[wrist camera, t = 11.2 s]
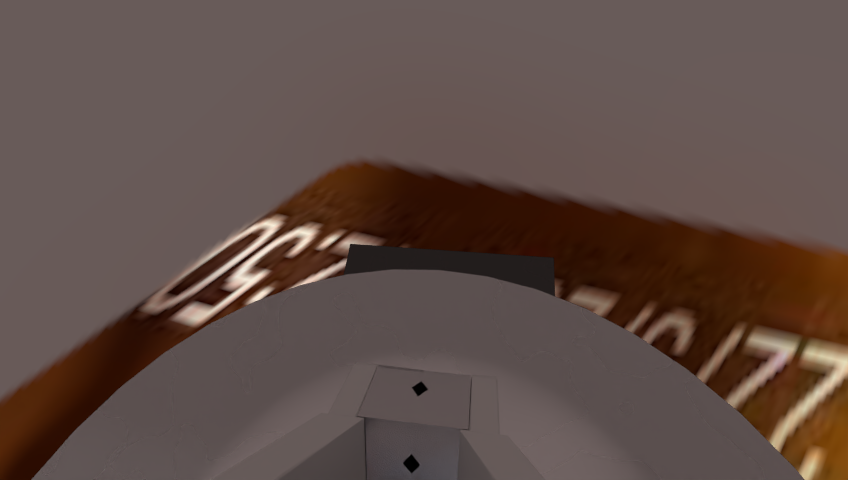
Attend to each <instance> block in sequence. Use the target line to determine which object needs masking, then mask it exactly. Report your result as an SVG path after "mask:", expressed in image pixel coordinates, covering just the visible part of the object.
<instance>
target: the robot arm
mask: <svg viewBox="0 0 848 480" xmlns="http://www.w3.org/2000/svg"><path fill="white" fill-rule="evenodd" d="M211 480H545V479H544V478H543V476H542V475H541V474H540V473H539V472H538V471H537V469H536V468H535V467H534V466H533V465H532V463H531V462H530V461H529V460H528V459H527V458H526V456H525V455H524V454H523V453H522V452H521V450H520V449H519V448H518V447H517V446H516V445H515V443H514V442H513V441H512V440H511V439H510V438H509V436H507V435H500V423H499V402H498V381H497V378H496V376H485V375H472V378H471V375H464V374H453V373H443V372H432V371H425V370H419V369H411V368H403V367H395V366H387V365H378V364H370V363H360V362H357V363H355V364H354V365H353V366H352V368H351V370H350V372H349V374H348V376H347V378H346V379H345V381H344V383H343V385H342V387H341V389H340V391H339V393H338V395H337V397H336V399H335V401H334V403H333V405H332V407H331V409H330V411H329V413H328V414H327V413H320V414H318V415H317V416H315V417H314V418H312V419H310V420H309V421H307V422H305V423H304V424H302V425H300V426H299V427H297V428H295V429H294V430H292V431H290V432H289V433H287V434H285V435H284V436H282V437H281V438H279V439H277V440H276V441H274V442H272V443H271V444H269V445H267V446H266V447H264V448H262V449H261V450H259V451H257V452H256V453H254V454H253V455H251V456H249V457H248V458H246V459H244V460H243V461H241V462H239V463H238V464H236V465H234V466H233V467H231V468H229V469H228V470H226V471H224V472H223V473H221V474H220V475H218V476H216V477H215V478H213V479H211Z"/></svg>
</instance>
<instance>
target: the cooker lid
mask: <svg viewBox="0 0 848 480" xmlns="http://www.w3.org/2000/svg"><path fill="white" fill-rule="evenodd" d="M357 362H360V363H370V364H378V365H387V366H395V367H403V368H411V369H419V370H425V371H432V372H443V373H453V374H464V375H471V378H472V375H485V376H496V378H497V381H498V402H499V423H500V435H507V436H509V438H510V439H511V440H512V441H513V442H514V443H515V445H516V446H517V447H518V448H519V449H520V450H521V452H522V453H523V454H524V455H525V456H526V458H527V459H528V460H529V461H530V462H531V463H532V465H533V466H534V467H535V468H536V469H537V471H538V472H539V473H540V474H541V475H542V476H543V478H544V479H545V480H804V479H803V477H802V476H801V475H800V474H799V473H798V471H797V470H796V469H795V468H794V467H793V466H792V465H791V464H790V463H789V462H788V461H787V460H786V459H785V458H784V457H783V456H782V455H781V454H780V453H779V452H778V451H777V450H776V449H775V448H774V447H773V446H772V445H771V444H770V443H769V442H768V441H767V440H766V439H765V438H764V437H763V436H762V435H761V434H760V433H759V432H758V431H757V430H756V429H755V428H754V427H753V426H752V425H751V424H750V423H749V422H748V421H747V420H746V419H745V418H744V417H743V416H742V415H741V414H740V413H739V412H738V411H737V410H736V409H734V408H733V407H732V406H731V405H730V404H728V403H727V402H726V401H725V400H723V399H722V398H721V397H720V396H719V395H717V394H716V393H715V392H714V391H713V390H711V389H710V388H709V387H708V386H707V385H705V384H704V383H703V382H702V381H701V380H699V379H698V378H697V377H696V376H695V375H693V374H692V373H691V372H690V371H689V370H687V369H686V368H684V367H683V366H681V365H680V364H678V363H677V362H675V361H674V360H672V359H671V358H669V357H668V356H666V355H665V354H663V353H662V352H660V351H659V350H657V349H656V348H655V347H653V346H652V345H650V344H649V343H647V342H646V341H644V340H643V339H641V338H640V337H638V336H637V335H635V334H633V333H631V332H629V331H627V330H625V329H624V328H622V327H620V326H618V325H616V324H614V323H612V322H610V321H608V320H606V319H605V318H603V317H601V316H599V315H597V314H595V313H593V312H591V311H589V310H587V309H586V308H583V307H580V306H578V305H575V304H573V303H570V302H568V301H565V300H563V299H560V298H557V297H555V296H552V295H550V294H547V293H545V292H542V291H539V290H537V289H534V288H530V287H526V286H522V285H518V284H514V283H511V282H507V281H503V280H499V279H495V278H491V277H488V276H480V275H473V274H466V273H458V272H451V271H443V270H399V269H392V270H383V271H374V272H365V273H356V274H347V275H342V276H338V277H334V278H329V279H325V280H321V281H317V282H312V283H308V284H304V285H300V286H297V287H294V288H292V289H289V290H286V291H283V292H281V293H278V294H275V295H272V296H269V297H267V298H264V299H261V300H258V301H256V302H253V303H251V304H249V305H247V306H245V307H243V308H241V309H239V310H237V311H235V312H233V313H231V314H229V315H227V316H225V317H223V318H221V319H219V320H217V321H215V322H213V323H211V324H209V325H207V326H206V327H204V328H203V329H201V330H200V331H198V332H196V333H195V334H193V335H192V336H190V337H189V338H187V339H185V340H184V341H182V342H181V343H179V344H177V345H176V346H174V347H173V348H171V349H170V350H168V351H166V352H165V353H164V354H162V355H161V356H160V357H158V358H157V359H156V360H155V361H153V362H152V363H151V364H150V365H148V366H147V367H146V368H144V369H143V370H142V371H141V372H139V373H138V374H137V375H135V376H134V377H133V378H132V379H130V380H129V381H128V382H127V383H125V384H124V385H123V386H121V387H120V388H119V389H118V390H117V391H116V392H115V393H114V394H113V395H112V396H111V397H110V398H109V399H107V400H106V401H105V402H104V403H103V404H102V405H101V406H100V407H99V408H98V409H97V410H96V411H95V412H94V413H93V414H92V415H91V416H90V417H88V418H87V419H86V420H85V421H84V422H83V423H82V424H81V425H80V426H79V427H78V428H77V429H76V430H75V431H74V432H73V433H72V434H71V435H70V437H69V438H68V439H67V440H66V441H65V442H64V443H63V444H62V446H61V447H60V448H59V449H58V450H57V451H56V452H55V454H54V455H53V456H52V457H51V458H50V459H49V460H48V461H47V463H46V464H45V465H44V466H43V467H42V468H41V469H40V471H39V472H38V473H37V474H36V475H35V476H34V477H33V478H32V480H211V479H213V478H215V477H216V476H218V475H220V474H221V473H223V472H224V471H226V470H228V469H229V468H231V467H233V466H234V465H236V464H238V463H239V462H241V461H243V460H244V459H246V458H248V457H249V456H251V455H253V454H254V453H256V452H257V451H259V450H261V449H262V448H264V447H266V446H267V445H269V444H271V443H272V442H274V441H276V440H277V439H279V438H281V437H282V436H284V435H285V434H287V433H289V432H290V431H292V430H294V429H295V428H297V427H299V426H300V425H302V424H304V423H305V422H307V421H309V420H310V419H312V418H314V417H315V416H317V415H318V414H320V413H327V414H328V413H329V411H330V409H331V407H332V405H333V403H334V401H335V399H336V397H337V395H338V393H339V391H340V389H341V387H342V385H343V383H344V381H345V379H346V378H347V376H348V374H349V372H350V370H351V368H352V366H353V365H354V364H355V363H357Z"/></svg>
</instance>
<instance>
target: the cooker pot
mask: <svg viewBox="0 0 848 480" xmlns="http://www.w3.org/2000/svg"><path fill="white" fill-rule="evenodd" d="M392 269H399V270H443V271H451V272H458V273H466V274H473V275H480V276H488V277H491V278H495V279H499V280H503V281H507V282H511V283H514V284H518V285H522V286H526V287H530V288H534V289H537V290H539V291H542V292H545V293H547V294H550V295H552V296H555V285H554V258H550V257H535V256H520V255H505V254H490V253H476V252H461V251H446V250H431V249H416V248H402V247H387V246H372V245H357V244H350V248H349V253H348V258H347V262H346V267H345V272H344V275H347V274H356V273H365V272H374V271H383V270H392Z"/></svg>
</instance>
